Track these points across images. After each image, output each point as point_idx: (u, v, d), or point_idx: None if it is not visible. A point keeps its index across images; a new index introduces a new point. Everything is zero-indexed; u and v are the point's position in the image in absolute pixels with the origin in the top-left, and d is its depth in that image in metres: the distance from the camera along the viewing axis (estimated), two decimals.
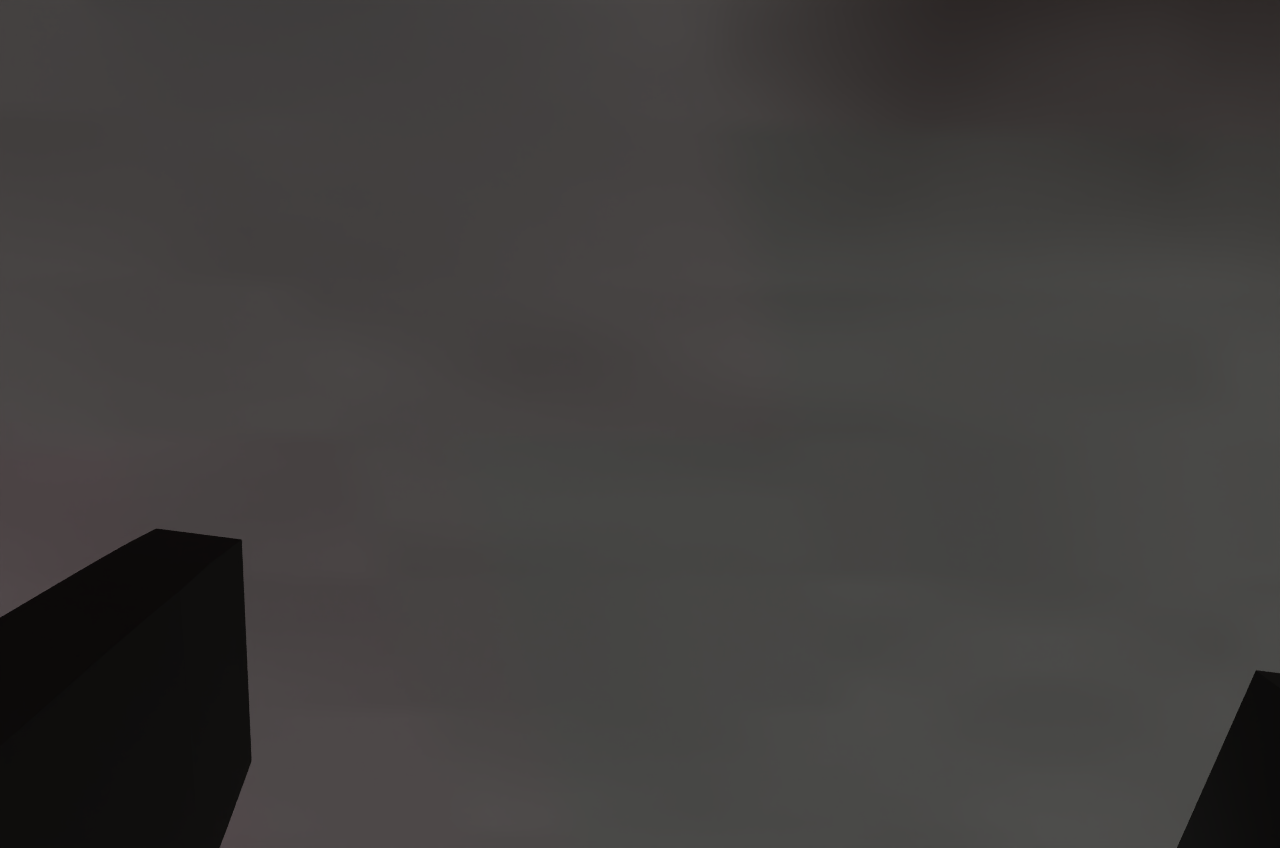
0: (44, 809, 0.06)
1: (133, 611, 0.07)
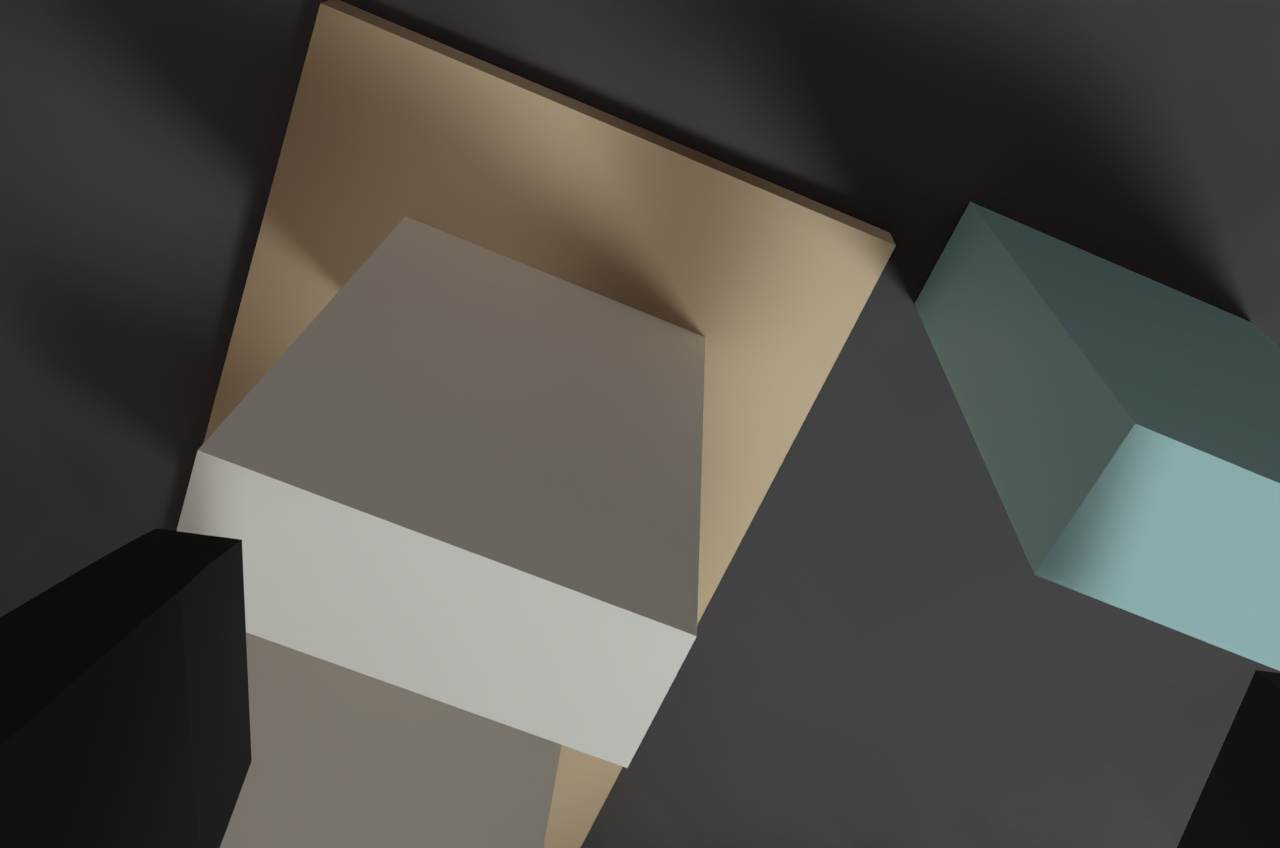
0: (45, 809, 0.06)
1: (134, 611, 0.07)
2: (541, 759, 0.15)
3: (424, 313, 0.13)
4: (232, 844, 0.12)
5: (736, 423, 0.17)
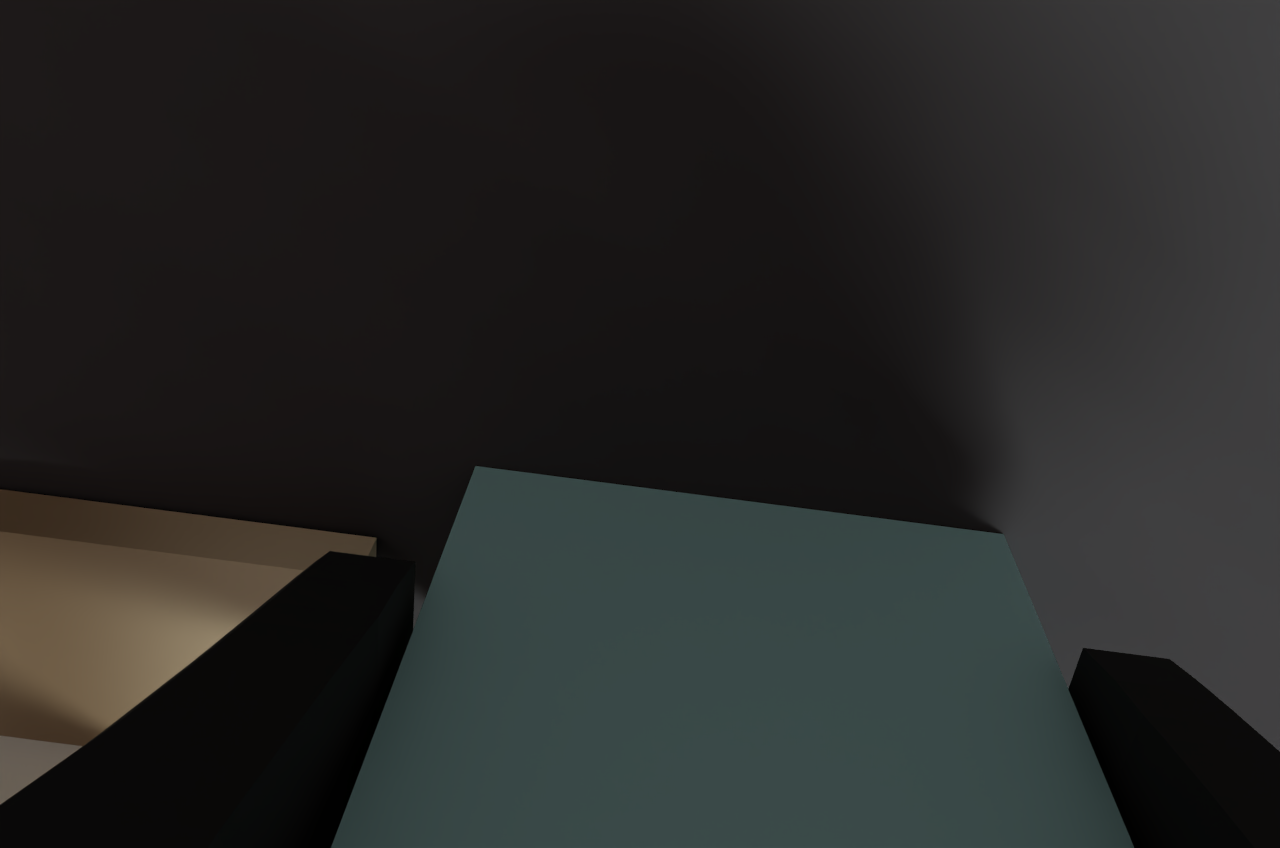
0: (280, 839, 0.06)
1: (340, 637, 0.07)
2: None
3: None
4: None
5: None
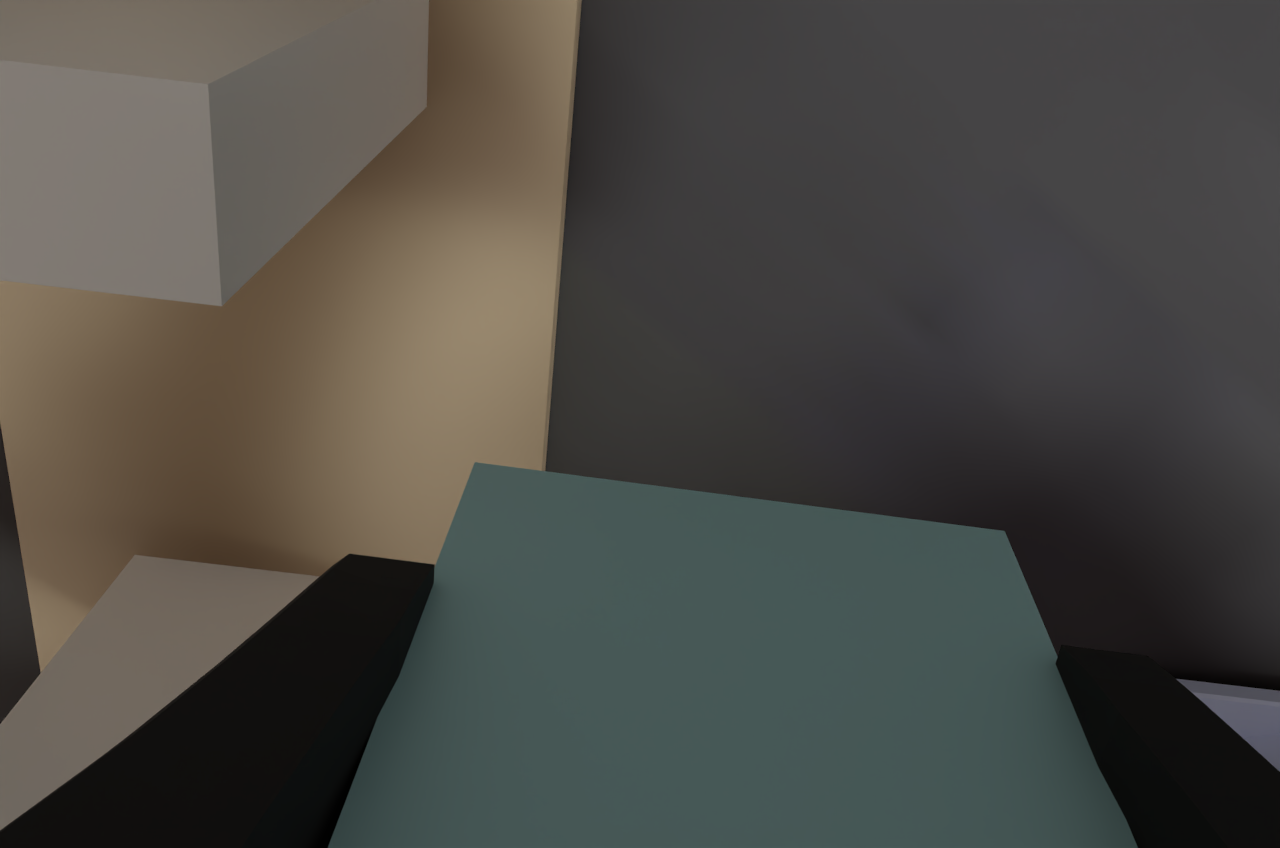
0: (307, 842, 0.06)
1: (364, 641, 0.07)
2: (310, 17, 0.11)
3: None
4: None
5: None
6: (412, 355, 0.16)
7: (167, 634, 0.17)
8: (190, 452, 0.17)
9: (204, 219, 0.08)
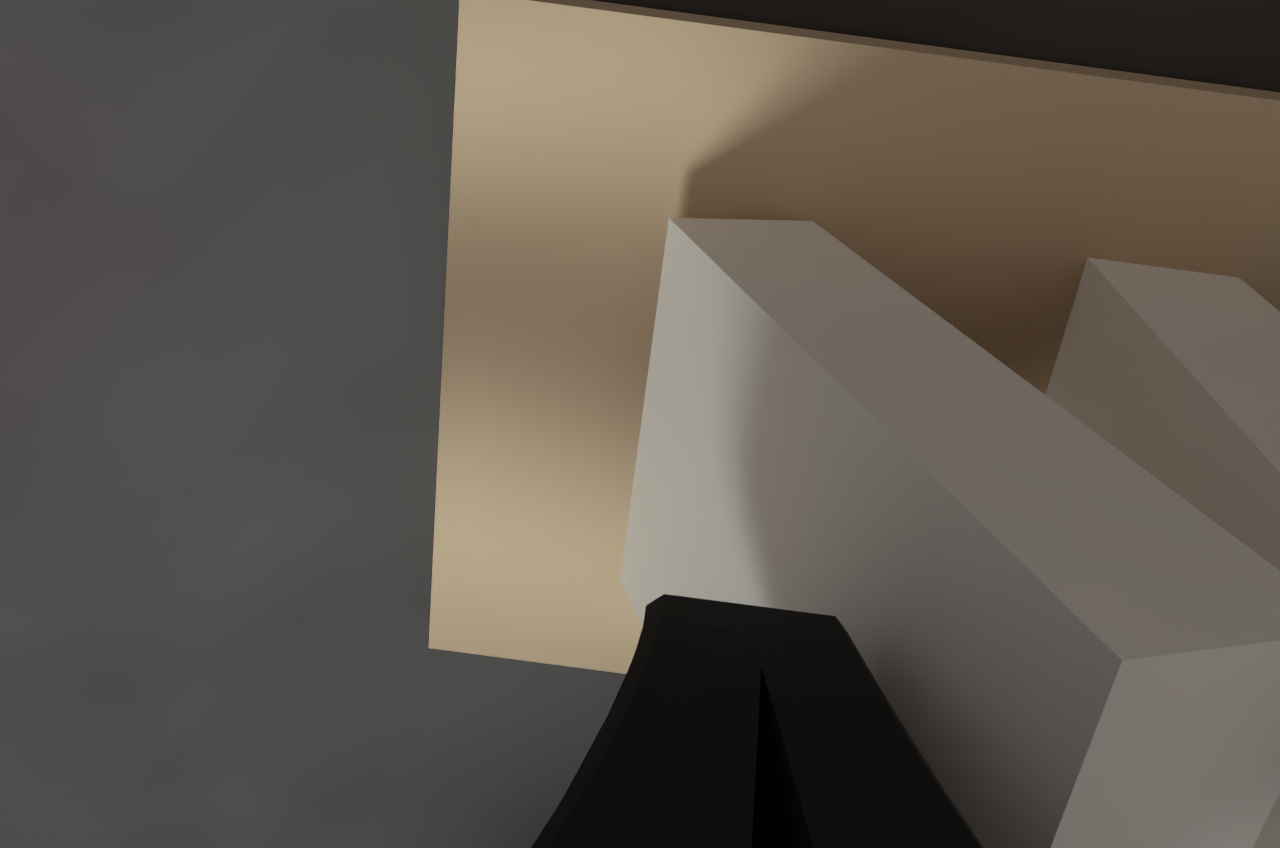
0: None
1: (739, 689, 0.07)
2: None
3: None
4: None
5: None
6: None
7: None
8: None
9: None
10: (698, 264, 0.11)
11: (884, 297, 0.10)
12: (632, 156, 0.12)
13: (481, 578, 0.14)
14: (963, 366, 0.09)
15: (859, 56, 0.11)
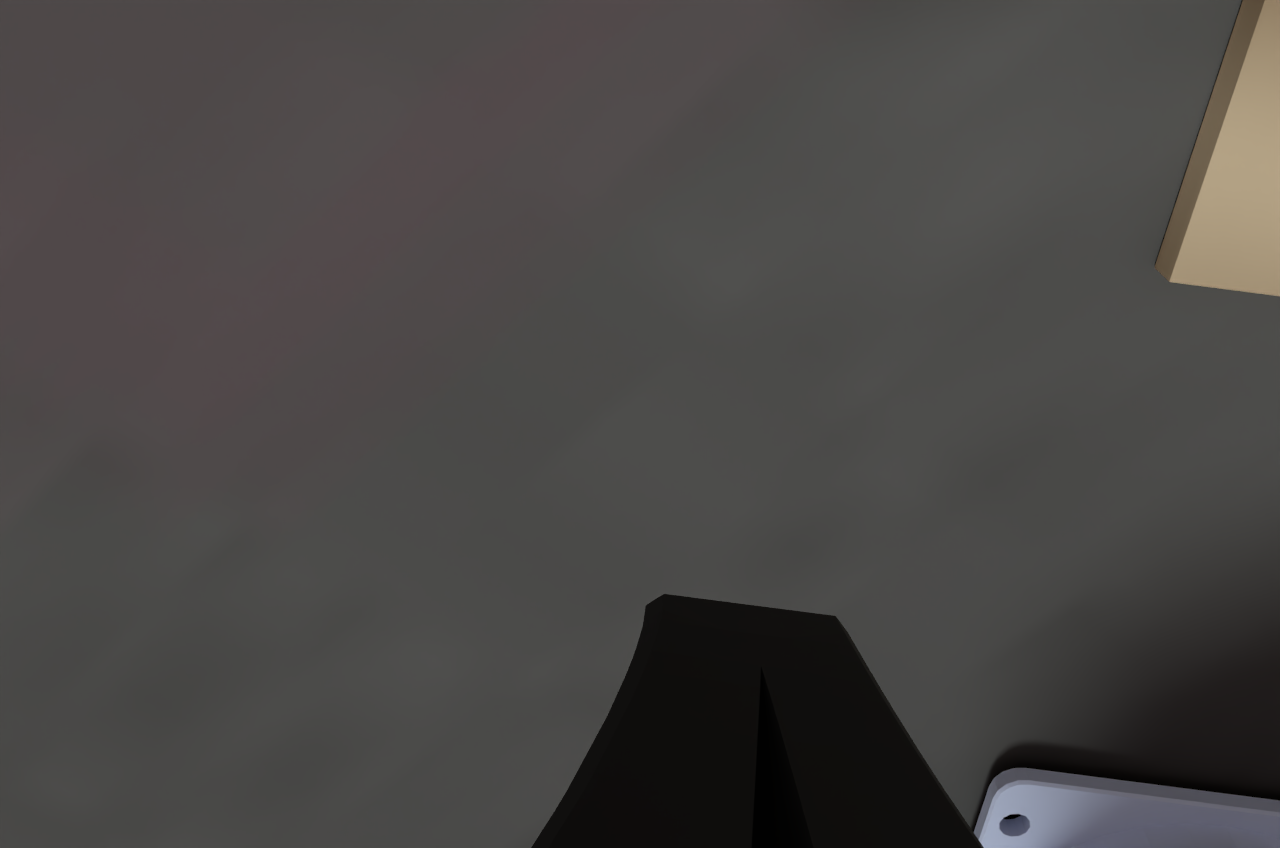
0: None
1: (739, 690, 0.07)
2: None
3: None
4: None
5: None
6: None
7: None
8: None
9: None
10: None
11: None
12: None
13: (1244, 203, 0.15)
14: None
15: None
